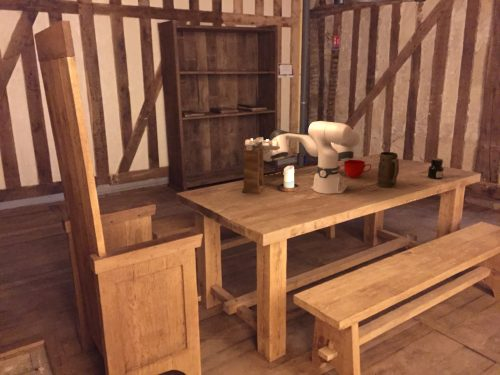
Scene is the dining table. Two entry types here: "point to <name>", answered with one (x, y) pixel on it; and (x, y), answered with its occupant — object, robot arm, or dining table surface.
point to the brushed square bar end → (254, 143)
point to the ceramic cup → (355, 168)
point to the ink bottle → (436, 169)
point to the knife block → (253, 169)
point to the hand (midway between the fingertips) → (259, 140)
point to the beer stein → (387, 170)
